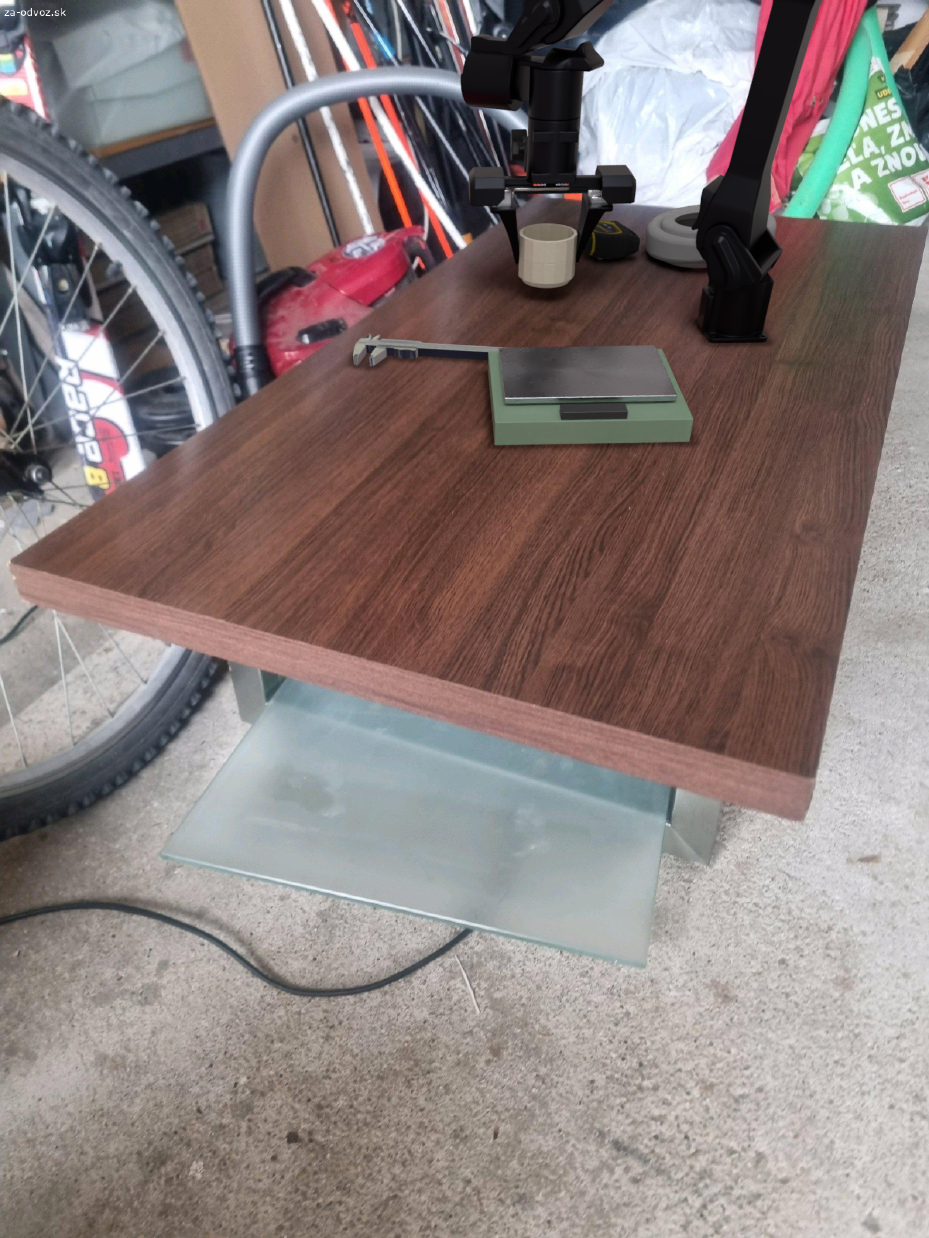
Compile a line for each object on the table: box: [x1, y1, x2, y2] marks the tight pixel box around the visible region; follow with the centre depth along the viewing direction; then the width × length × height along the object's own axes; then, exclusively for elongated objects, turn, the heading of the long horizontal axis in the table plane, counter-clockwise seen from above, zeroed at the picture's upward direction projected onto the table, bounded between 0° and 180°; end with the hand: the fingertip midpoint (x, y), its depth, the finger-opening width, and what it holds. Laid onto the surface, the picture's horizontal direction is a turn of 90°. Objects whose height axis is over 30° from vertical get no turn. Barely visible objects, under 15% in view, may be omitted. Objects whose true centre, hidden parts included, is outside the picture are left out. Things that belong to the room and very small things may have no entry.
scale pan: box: [498, 344, 677, 404], centre depth 84 cm, size 16×11×1 cm
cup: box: [517, 222, 578, 289], centre depth 104 cm, size 7×7×6 cm
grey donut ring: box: [645, 204, 777, 269], centre depth 114 cm, size 17×6×15 cm
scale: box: [487, 348, 694, 446], centre depth 84 cm, size 18×15×3 cm
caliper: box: [352, 333, 506, 367], centre depth 94 cm, size 20×1×6 cm
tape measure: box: [583, 220, 641, 261], centre depth 116 cm, size 7×7×4 cm
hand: (546, 262), depth 104 cm, fingers closed on cup, 7 cm apart
